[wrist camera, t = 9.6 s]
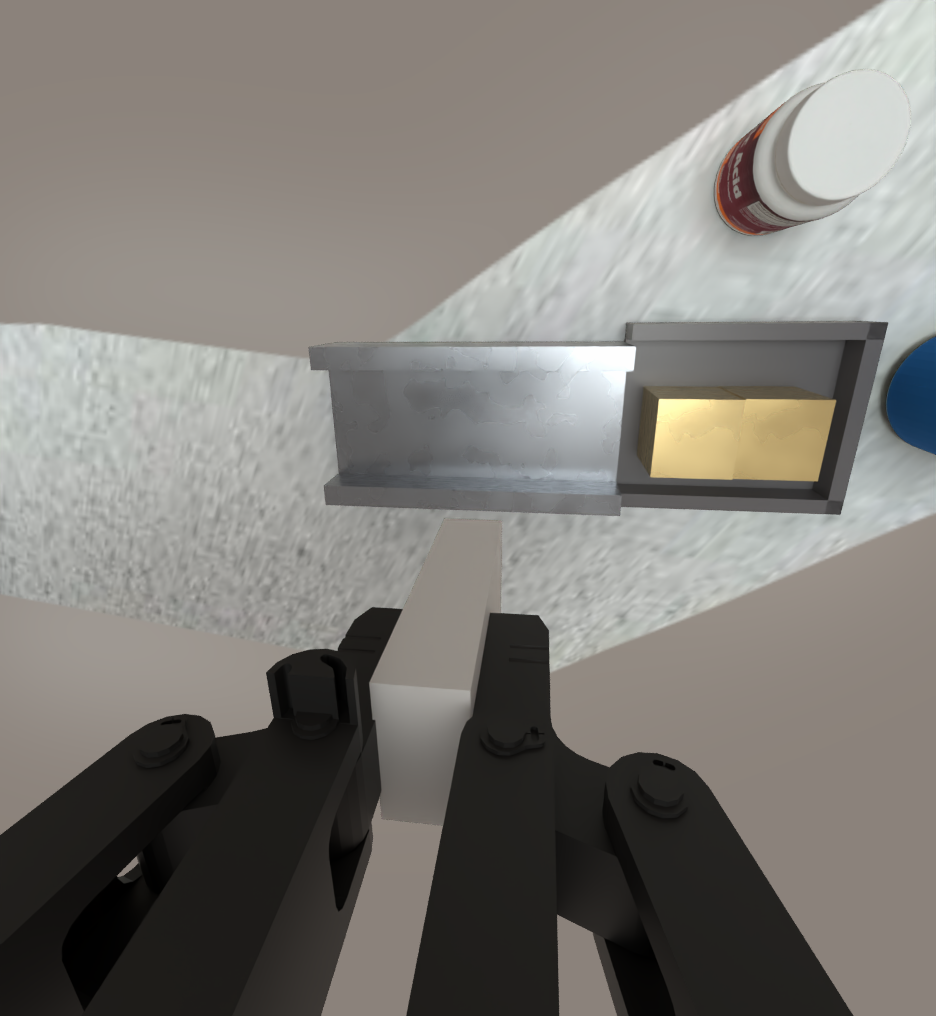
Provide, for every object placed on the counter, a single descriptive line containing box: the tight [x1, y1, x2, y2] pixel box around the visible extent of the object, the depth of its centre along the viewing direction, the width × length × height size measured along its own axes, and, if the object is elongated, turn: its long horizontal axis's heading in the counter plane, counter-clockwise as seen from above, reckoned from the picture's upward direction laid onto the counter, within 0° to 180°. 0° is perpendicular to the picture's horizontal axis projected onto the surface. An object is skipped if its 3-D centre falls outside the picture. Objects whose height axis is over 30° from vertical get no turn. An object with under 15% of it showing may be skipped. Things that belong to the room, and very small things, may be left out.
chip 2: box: [718, 386, 836, 481], centre depth 28 cm, size 4×4×4 cm
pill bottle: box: [714, 69, 911, 235], centre depth 23 cm, size 5×5×8 cm
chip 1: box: [637, 386, 746, 480], centre depth 29 cm, size 4×4×4 cm
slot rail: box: [309, 341, 636, 516], centre depth 31 cm, size 17×9×4 cm, turn 90°
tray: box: [616, 321, 888, 515], centre depth 30 cm, size 12×10×2 cm
